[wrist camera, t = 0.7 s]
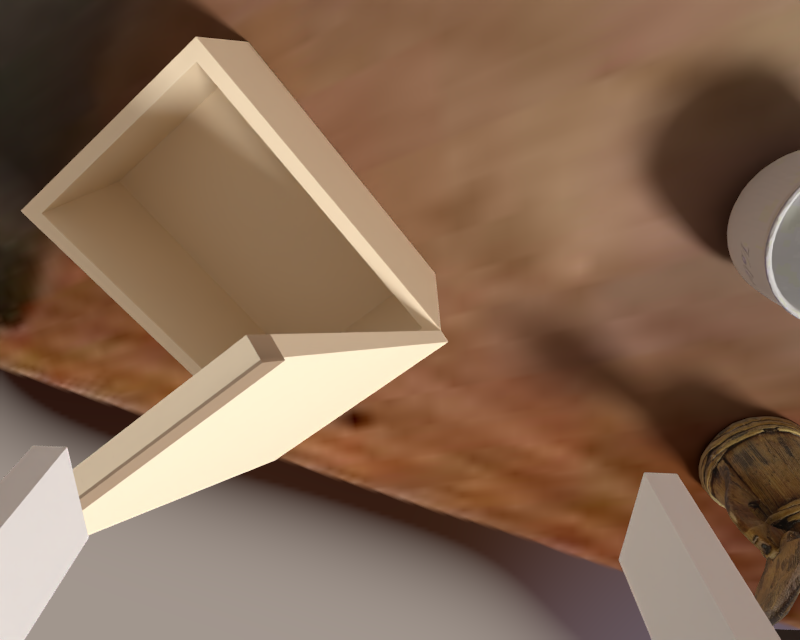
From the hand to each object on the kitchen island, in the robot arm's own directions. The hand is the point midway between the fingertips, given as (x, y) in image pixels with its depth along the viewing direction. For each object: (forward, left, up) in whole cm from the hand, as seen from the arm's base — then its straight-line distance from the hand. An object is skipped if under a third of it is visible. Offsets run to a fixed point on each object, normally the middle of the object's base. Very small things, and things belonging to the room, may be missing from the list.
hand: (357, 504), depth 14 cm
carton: (-4, -8, -31) cm, 32 cm away
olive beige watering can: (+34, +9, -31) cm, 47 cm away
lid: (+1, -8, -12) cm, 15 cm away
